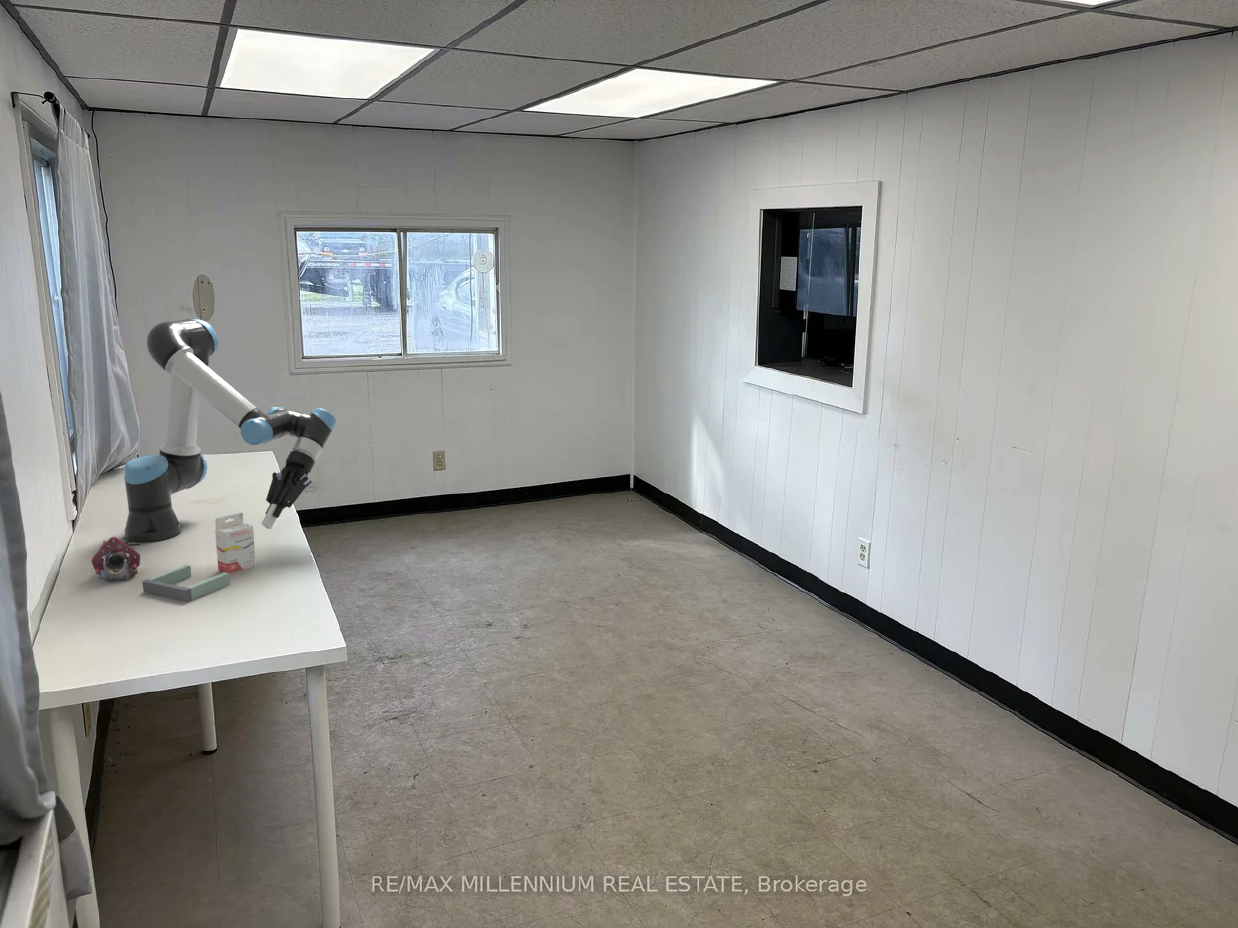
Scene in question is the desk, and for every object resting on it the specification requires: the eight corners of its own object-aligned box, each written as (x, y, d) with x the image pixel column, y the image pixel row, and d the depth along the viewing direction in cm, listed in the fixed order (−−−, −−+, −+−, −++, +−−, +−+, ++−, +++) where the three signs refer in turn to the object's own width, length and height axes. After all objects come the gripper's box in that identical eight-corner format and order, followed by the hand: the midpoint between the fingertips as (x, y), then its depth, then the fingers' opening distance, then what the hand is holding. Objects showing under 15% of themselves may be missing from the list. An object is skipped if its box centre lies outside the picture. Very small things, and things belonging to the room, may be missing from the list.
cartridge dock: (143, 592, 229) (142, 580, 228) (187, 575, 241) (186, 564, 241) (187, 601, 223) (185, 590, 223) (229, 584, 236) (228, 573, 235)
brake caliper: (89, 579, 231) (88, 535, 235) (96, 591, 240) (94, 549, 244) (139, 573, 235) (137, 530, 240) (144, 586, 245) (141, 544, 249)
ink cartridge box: (228, 574, 243) (223, 521, 239) (217, 570, 245) (213, 518, 242) (256, 565, 249) (252, 514, 246) (246, 562, 252) (242, 511, 249)
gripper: (327, 465, 265) (291, 535, 254) (293, 461, 270) (256, 530, 259) (313, 451, 259) (276, 522, 248) (278, 447, 264) (240, 517, 253)
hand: (266, 526), depth 254 cm, fingers closed
